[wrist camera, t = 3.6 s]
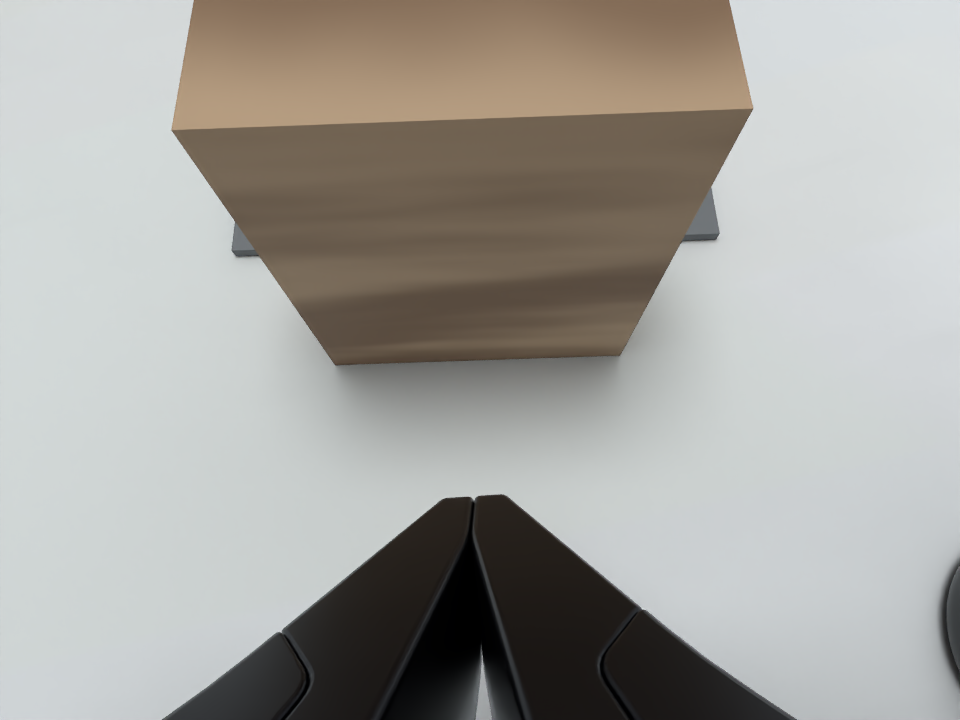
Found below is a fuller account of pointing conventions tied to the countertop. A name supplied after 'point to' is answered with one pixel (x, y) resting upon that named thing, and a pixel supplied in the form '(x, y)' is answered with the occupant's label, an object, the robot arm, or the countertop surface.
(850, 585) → the countertop surface
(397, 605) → the robot arm
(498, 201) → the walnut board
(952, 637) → the supplement bottle
